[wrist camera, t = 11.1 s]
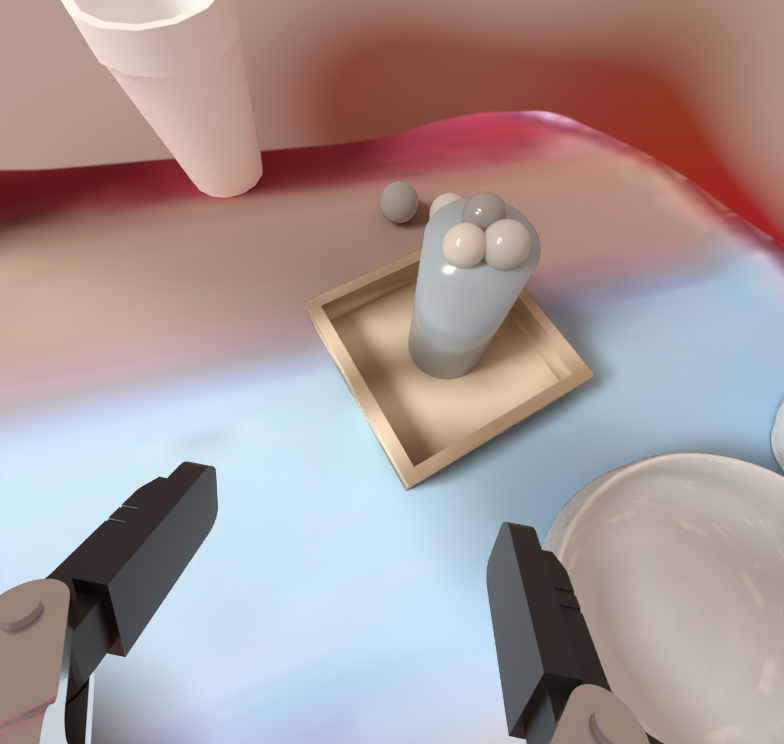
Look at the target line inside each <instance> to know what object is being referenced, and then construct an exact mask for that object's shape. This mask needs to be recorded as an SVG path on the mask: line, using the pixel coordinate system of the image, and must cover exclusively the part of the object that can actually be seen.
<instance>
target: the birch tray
mask: <svg viewBox="0 0 784 744" xmlns="http://www.w3.org/2000/svg"><path fill="white" fill-rule="evenodd" d="M421 251H422V249H420V250H418V251H416V252H414V253H411V254H409V255H407V256H405V257H403V258H400V259H398V260H396V261H394V262H392V263H390V264H387V265H385V266H383V267H381V268H379V269H376V270H374V271H372V272H370V273H368V274H365V275H363V276H361V277H359V278H357V279H354V280H352V281H350V282H348V283H346V284H343V285H341V286H339V287H337V288H335V289H332V290H330V291H328V292H326V293H324V294H321V295H319V296H317V297H315V298H313V299H311V300H308V301H306V305H307V308H308V311H309V314H310V316H311V319H312V322H313V325H314V327H315V328H316V330H317V332H318V334H319V336H320V337H321V339H322V341H323V343H324V344H325V346H326V348H327V350H328V352H329V353H330V355H331V357H332V359H333V361H334V362H335V364H336V366H337V368H338V370H339V371H340V373H341V375H342V377H343V379H344V380H345V382H346V384H347V386H348V388H349V389H350V391H351V393H352V395H353V396H354V398H355V400H356V402H357V404H358V405H359V407H360V409H361V411H362V413H363V414H364V416H365V418H366V420H367V422H368V423H369V425H370V427H371V429H372V431H373V432H374V434H375V436H376V438H377V440H378V441H379V443H380V445H381V447H382V448H383V450H384V452H385V454H386V456H387V457H388V459H389V461H390V463H391V465H392V466H393V468H394V470H395V472H396V474H397V475H398V477H399V479H400V481H401V483H402V484H403V486H404V488H405V490H408V489H409V488H411V487H413V486H414V485H416V484H418V483H419V482H421V481H423V480H424V479H426V478H428V477H429V476H431V475H433V474H434V473H436V472H438V471H439V470H441V469H443V468H444V467H446V466H448V465H449V464H451V463H453V462H454V461H456V460H458V459H459V458H461V457H463V456H464V455H466V454H468V453H469V452H471V451H473V450H474V449H476V448H478V447H479V446H481V445H483V444H484V443H486V442H488V441H489V440H491V439H493V438H494V437H496V436H498V435H499V434H501V433H503V432H504V431H506V430H508V429H509V428H511V427H513V426H514V425H516V424H518V423H519V422H521V421H523V420H524V419H526V418H528V417H529V416H531V415H533V414H534V413H536V412H538V411H539V410H541V409H543V408H544V407H546V406H548V405H549V404H551V403H553V402H554V401H556V400H558V399H559V398H561V397H563V396H564V395H566V394H568V393H569V392H571V391H573V390H574V389H576V388H577V387H579V386H580V385H581V384H583V383H584V382H586V381H587V380H589V379H590V378H592V377H593V376H595V375H594V374H593V372H592V371H591V370H590V369H589V367H588V366H587V365H586V364H585V362H584V361H583V360H582V359H581V358H580V356H579V355H578V354H577V353H576V351H575V350H574V349H573V348H572V346H571V345H570V344H569V343H568V341H567V340H566V339H565V338H564V336H563V335H562V334H561V333H560V332H559V330H558V329H557V328H556V327H555V325H554V324H553V323H552V322H551V320H550V319H549V318H548V317H547V315H546V314H545V313H544V312H543V310H542V309H541V308H540V307H539V306H538V304H537V303H536V302H535V301H534V299H533V298H532V297H531V296H530V294H529V293H528V292H527V291H526V289H525V288H523V290H522V291H521V293H520V295H519V296H518V298H517V299H516V301H515V303H514V304H513V306H512V308H511V309H510V311H509V313H508V314H507V316H506V317H505V319H504V321H503V322H502V324H501V326H500V327H499V329H498V330H497V332H496V334H495V335H494V337H493V339H492V340H491V342H490V343H489V345H488V347H487V348H486V350H485V352H484V353H483V355H482V356H481V358H480V360H479V361H478V363H477V364H476V366H475V367H474V368H473V369H472V370H471V371H470V372H469V373H467V374H466V375H464V376H462V377H459V378H455V379H439V378H435V377H432V376H430V375H428V374H426V373H424V372H423V371H421V370H420V369H419V368H418V367H417V366H416V364H415V363H414V362H413V360H412V358H411V356H410V353H409V349H408V338H409V331H410V324H411V318H412V311H413V304H414V298H415V291H416V284H417V278H418V271H419V264H420V258H421Z"/></svg>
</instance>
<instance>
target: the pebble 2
mask: <svg viewBox="0 0 784 744" xmlns="http://www.w3.org/2000/svg"><path fill="white" fill-rule="evenodd" d="M459 199H463V198H462V197H461V196H460V195H458V194H456V193H444V194H442V195H440V196H439V197H437V198H436V199H435V200H434V202H433V203H432V205H431V208H430V212H429V217H430V218H431V217H432V216H433V214H434V213H435V212H436V211H438V210H439V209H440V208H441V207H443V206H445V205H446V204H448V203H450V202H453V201H456V200H459Z"/></svg>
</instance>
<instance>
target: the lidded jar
mask: <svg viewBox="0 0 784 744" xmlns="http://www.w3.org/2000/svg"><path fill="white" fill-rule="evenodd" d="M770 441H771V448H772V452H773V454H774V457H775V459H776V461H777V463H778V465H779V466H780V468H781V469H782V471H783V472H784V401H783V403H782V404H781V406H780V408H779V409H778V412H777V415H776V418H775V423H774V425H773V427H772V430H771V436H770Z"/></svg>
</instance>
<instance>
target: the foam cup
mask: <svg viewBox="0 0 784 744" xmlns="http://www.w3.org/2000/svg"><path fill="white" fill-rule="evenodd" d="M61 1H62V3H63V4H64V6H65V7H66V9H67V11H68V12H69V14H70V16H71V17H72V19H73V20H74V22H75V24H76V25H77V27H78V29H79V30H80V32H81V34H82V35H83V37H84V38H85V40H86V42H87V43H88V45H89V46H90V48H91V50H92V51H93V53H94V54H95V56H96V58H97V59H98V61H99V63H101V64H103V65H106V66H107V68H108V69H109V71H110V72H111V73H112V75H113V76H114V77H115V79H116V80H117V81H118V82H119V84H120V85H121V87H122V88H123V89H124V91H125V92H126V93H127V95H128V96H129V97H130V99H131V100H132V101H133V103H134V104H135V105H136V107H137V108H138V109H139V111H140V112H141V113H142V115H143V116H144V117H145V119H146V120H147V121H148V123H149V124H150V125H151V127H152V128H153V129H154V131H155V132H156V133H157V135H158V136H159V137H160V139H161V140H162V141H163V143H164V144H165V146H166V147H167V148H168V150H169V151H170V152H171V153H172V155H173V156H174V158H175V159H176V160H177V162H178V163H179V164H180V166H181V167H182V168H183V170H184V171H185V172H186V174H187V175H188V176H189V178H190V179H191V180H192V182H193V183H194V184H195V185H196V186H197V188H198V189H199V190H200V191H202V192H204V193H206V194H208V195H210V196H213V197H225V198H228V197H232V196H236V195H240V194H244V193H245V192H246V191H248V190H249V189H251V188H252V187H254V186H255V185H256V184H257V182H258V181H259V179H260V177H261V176H262V161H261V153H260V147H259V142H258V138H257V131H256V126H255V121H254V115H253V110H252V104H251V99H250V93H249V88H248V83H247V77H246V72H245V67H244V61H243V56H242V50H241V45H240V39H239V34H238V14H237V10H236V7H235V3H234V0H61Z"/></svg>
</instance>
